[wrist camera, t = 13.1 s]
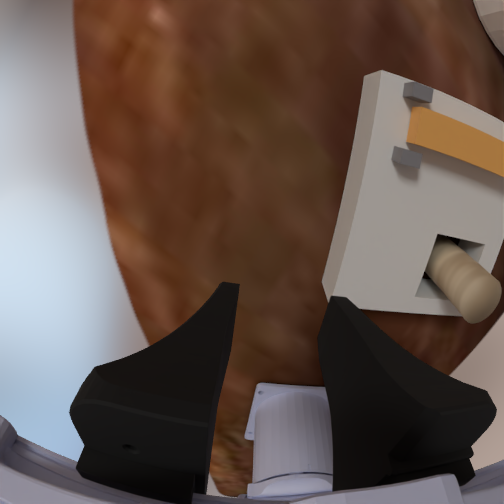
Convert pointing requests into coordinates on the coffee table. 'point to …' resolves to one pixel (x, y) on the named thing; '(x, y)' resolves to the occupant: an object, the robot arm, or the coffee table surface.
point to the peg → (463, 280)
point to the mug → (492, 20)
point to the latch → (455, 140)
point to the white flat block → (409, 202)
